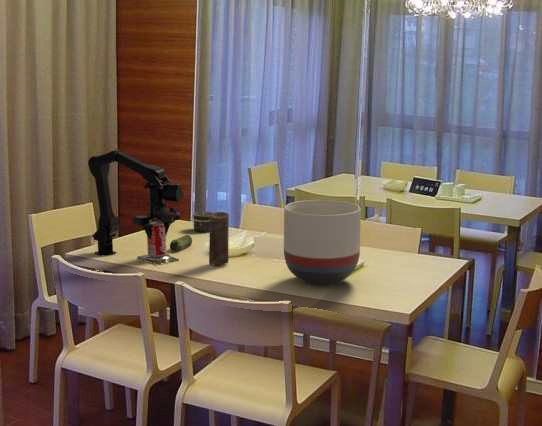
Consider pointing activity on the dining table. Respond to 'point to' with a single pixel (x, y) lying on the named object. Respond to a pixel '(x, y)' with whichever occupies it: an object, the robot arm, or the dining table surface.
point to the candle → (218, 238)
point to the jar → (202, 222)
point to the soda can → (157, 240)
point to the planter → (322, 240)
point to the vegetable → (181, 243)
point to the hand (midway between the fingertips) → (157, 239)
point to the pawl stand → (158, 259)
